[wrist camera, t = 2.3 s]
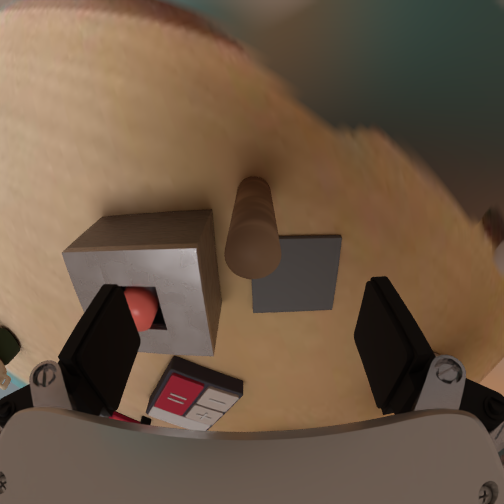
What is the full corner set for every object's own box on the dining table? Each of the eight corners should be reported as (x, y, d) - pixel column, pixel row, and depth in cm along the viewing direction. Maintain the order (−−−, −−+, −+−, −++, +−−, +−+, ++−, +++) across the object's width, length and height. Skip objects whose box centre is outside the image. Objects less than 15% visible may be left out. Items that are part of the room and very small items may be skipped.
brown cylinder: (270, 176, 25) (281, 228, 14) (270, 207, 26) (280, 278, 16) (236, 177, 25) (222, 230, 14) (238, 208, 26) (226, 279, 16)
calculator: (244, 398, 36) (204, 436, 41) (244, 376, 40) (206, 417, 45) (169, 372, 33) (144, 417, 39) (175, 350, 37) (149, 398, 43)
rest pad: (340, 235, 28) (341, 237, 27) (330, 306, 32) (332, 309, 31) (250, 237, 28) (250, 239, 27) (253, 309, 32) (253, 312, 31)
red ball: (157, 279, 23) (146, 300, 20) (165, 310, 25) (156, 332, 22) (122, 278, 23) (109, 299, 20) (132, 309, 25) (121, 330, 22)
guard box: (211, 209, 26) (195, 248, 19) (221, 302, 32) (213, 356, 25) (102, 216, 27) (61, 252, 20) (125, 301, 32) (100, 347, 25)
